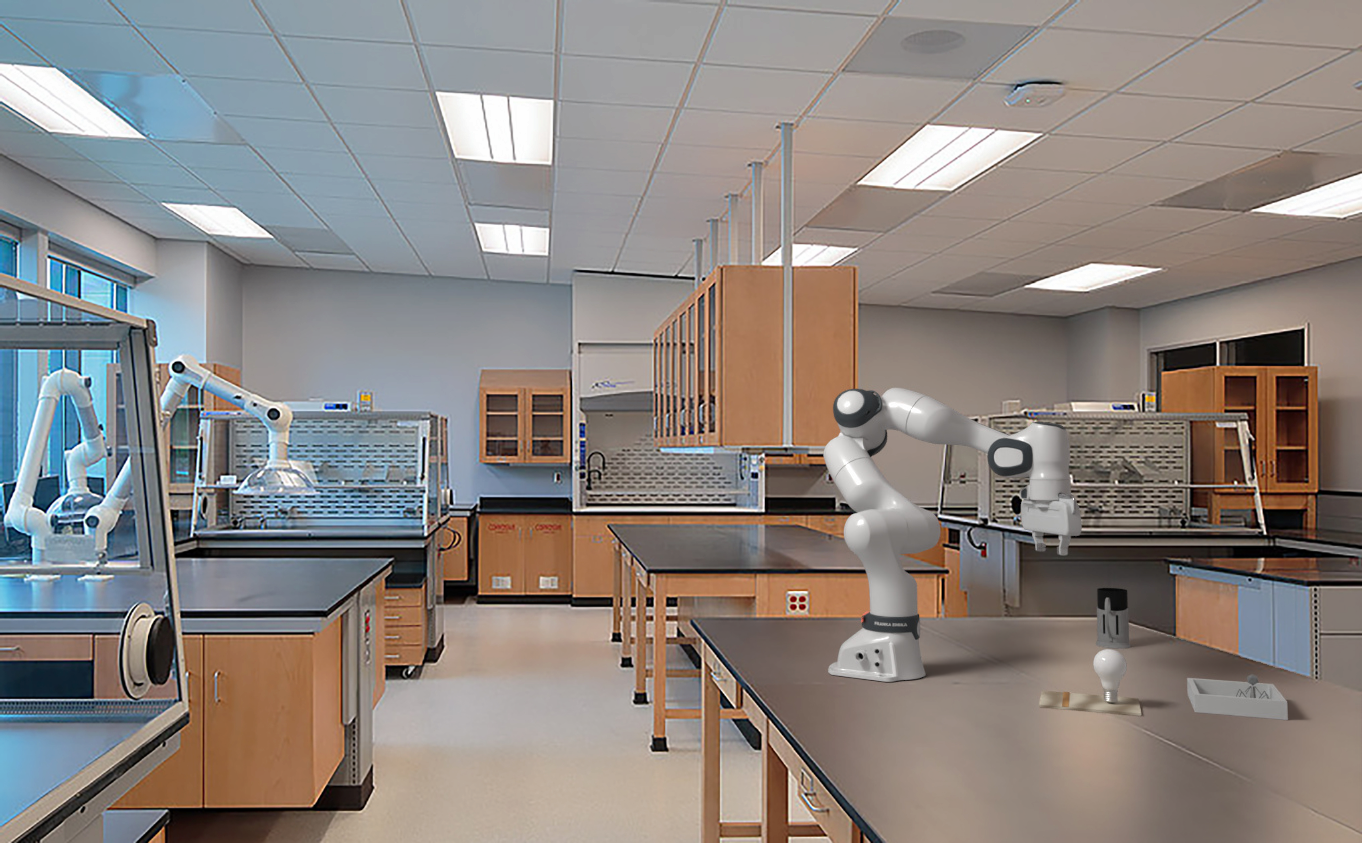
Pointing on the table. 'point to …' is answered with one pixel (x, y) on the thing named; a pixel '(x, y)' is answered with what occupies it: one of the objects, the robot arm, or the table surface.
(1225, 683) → the specimen tray
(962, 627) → the table surface
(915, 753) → the table surface
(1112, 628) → the glass holder
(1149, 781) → the table surface
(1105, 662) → the lightbulb
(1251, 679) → the bacteriophage
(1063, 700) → the board
